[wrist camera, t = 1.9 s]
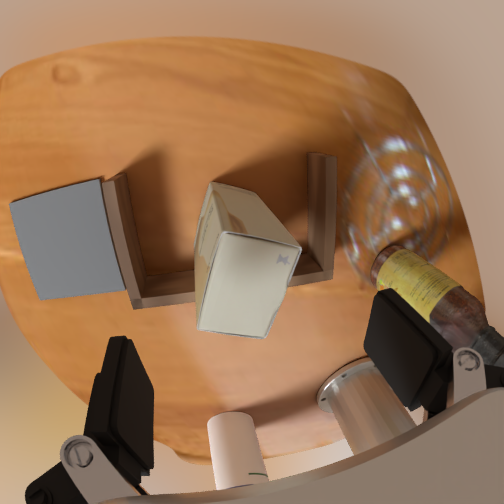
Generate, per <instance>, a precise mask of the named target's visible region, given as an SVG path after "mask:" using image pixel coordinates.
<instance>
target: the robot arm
mask: <svg viewBox="0 0 504 504" xmlns="http://www.w3.org/2000/svg"><path fill="white" fill-rule="evenodd" d="M452 349H453V347H452V346H451V345H450V344H449V343H448V342H447V341H446V340H445V339H444V338H443V336H442V335H441V334H440V333H439V332H438V331H437V330H436V329H435V328H434V327H433V326H432V325H431V324H430V323H429V322H427V321H426V320H425V319H424V318H423V317H422V316H421V315H420V314H419V313H418V312H417V311H416V310H415V309H414V308H413V307H412V306H411V305H410V304H409V303H408V302H407V301H406V300H405V299H404V298H402V297H401V296H400V295H399V294H398V293H397V292H396V291H395V290H394V289H392V288H387V289H384V290H380V291H378V292H377V295H375V296H374V300H373V305H372V309H371V314H370V319H369V323H368V327H367V332H366V336H365V340H364V350H365V352H366V353H367V354H368V356H369V357H368V358H363V359H360V360H357V361H354V362H352V363H350V364H348V365H346V366H344V367H343V368H341V369H340V370H338V371H337V372H335V373H334V374H333V375H332V376H330V377H329V378H328V379H327V380H326V381H325V382H324V384H323V385H322V386H321V388H320V390H319V392H318V394H317V403H318V405H319V407H320V409H321V410H323V411H325V412H328V413H334V415H335V417H336V419H337V421H338V423H339V425H340V428H341V430H342V432H343V434H344V436H345V438H346V440H347V442H348V444H349V446H350V448H351V450H352V452H353V454H354V456H352V457H349V458H346V459H344V460H341V461H338V462H335V463H333V464H330V465H327V466H324V467H321V468H317V469H314V470H311V471H308V472H304V473H301V474H297V475H293V476H289V477H286V478H281V479H277V480H273V481H268V482H264V483H259V484H254V485H248V486H242V487H236V488H229V489H222V490H213V491H205V492H195V493H181V494H159V495H150V494H149V493H148V492H147V491H146V490H145V489H144V488H143V487H142V486H141V485H140V483H141V476H149V475H150V469H153V468H154V450H153V417H154V389H153V386H152V383H151V381H150V379H149V377H148V375H147V373H146V371H145V369H144V366H143V364H142V362H141V360H140V357H139V355H138V353H137V351H136V348H135V346H134V343H133V341H132V340H131V339H127V337H126V336H115V337H110V339H109V342H108V346H107V350H106V353H105V357H104V361H103V366H102V370H101V373H97V374H96V376H95V379H94V383H93V388H92V392H91V397H90V402H89V407H88V412H87V417H86V423H85V428H84V434H83V435H76V436H73V437H70V438H68V439H67V440H66V441H65V442H64V444H63V445H62V447H61V450H60V459H61V462H59V463H58V464H57V465H55V466H54V467H52V468H51V469H50V470H49V471H47V472H46V473H44V474H43V475H42V476H40V477H39V478H38V479H36V480H35V481H33V482H32V483H31V484H30V485H29V486H28V487H27V489H26V492H25V500H26V503H27V504H504V368H503V367H498V366H492V365H487V364H484V362H483V359H482V357H481V355H480V354H479V353H478V352H477V351H475V350H473V349H471V348H465V347H463V348H459V349H458V350H456V351H455V353H453V352H452ZM400 401H401V402H400ZM421 405H422V406H423V407H424V416H423V423H422V424H420V425H418V426H417V425H416V424H415V422H414V421H413V419H412V418H411V416H410V415H409V413H408V412H407V410H406V409H405V407H408V409H409V410H410V411H413V410H415V409H417V408H419V407H420V406H421ZM404 406H405V407H404Z"/></svg>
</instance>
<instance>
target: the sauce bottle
mask: <svg viewBox="0 0 504 504" xmlns="http://www.w3.org/2000/svg"><path fill="white" fill-rule="evenodd" d="M371 280H372V283H373V285H374V286H375V287H376V288H377V289H378V291H380V290H384V289H387V288H392V289H394V290H395V291H396V292H397V293H398V294H399V295H400V296H401V297H402V298H404V299H405V300H406V301H407V302H408V303H409V304H410V305H411V306H412V307H413V308H414V309H415V310H416V311H417V312H418V313H419V314H420V315H421V316H422V317H423V318H424V319H425V320H426V321H427V322H429V323H430V324H431V325H432V326H433V327H434V328H435V329H436V330H437V331H438V332H439V333H440V334H441V335H442V336H443V338H444V339H445V340H446V341H447V342H448V343H449V344H450V345H451V346H452V347H453V349H452V352H453V353H455V351H456V350H458V349H459V348H463V347H465V348H471V349H473V350H475V351H477V352H478V353H479V354H480V355H481V357H482V359H483V362H484V364H487V365H492V366H498V367H503V368H504V337H502V336H501V335H500V334H499V333H498V332H497V331H495V328H494V327H492V326H489V324H488V322H487V318H486V315H485V311H484V308H483V306H482V304H481V303H480V301H479V300H478V299H477V298H476V297H474V296H473V295H471V294H470V293H469V292H467V291H466V290H464V288H463V287H462V286H461V285H460V284H459V283H457V282H456V281H454V280H453V279H452V278H450V277H449V276H447V275H446V274H445V273H443V272H442V271H440V270H439V269H437V268H436V267H434V266H433V265H432V264H430V263H429V262H427V261H426V260H424V259H423V258H421V257H420V256H418V255H416V254H415V253H414V252H412V251H410V250H408V249H405V248H404V247H403V246H399V245H394V246H391V247H388V248H386V249H384V250H383V251H382V252H381V253H380V254H379V255H378V257H377V258H376V260H375V262H374V263H373V266H372V268H371Z"/></svg>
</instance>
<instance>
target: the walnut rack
mask: <svg viewBox="0 0 504 504" xmlns="http://www.w3.org/2000/svg"><path fill="white" fill-rule="evenodd" d="M307 180H308V253H307V254H300V256H299V259H298V262H297V264H296V267H295V269H294V272H293V275H292V277H291V280H290V282H289V285H288V287H293V286H298V285H304V284H309V283H315V282H320V281H326V280H331V279H333V269H334V254H335V235H336V207H337V157H336V156H332V155H327V154H322V153H317V152H313V153H307ZM102 188H103V193H104V199H105V204H106V209H107V214H108V218H109V223H110V227H111V232H112V236H113V240H114V244H115V248H116V252H117V256H118V260H119V264H120V267H121V271H122V274H123V278H124V281H125V284H126V288H127V291H128V294H129V297H130V301H131V304H132V307H133V310H134V309H142V308H151V307H159V306H167V305H175V304H183V303H190V302H196V300H195V270H189V271H182V272H175V273H168V274H161V275H153V276H147V274H146V270H145V266H144V262H143V258H142V254H141V249H140V245H139V240H138V236H137V231H136V226H135V221H134V216H133V211H132V205H131V200H130V194H129V188H128V182H127V175H126V173H124V174H119V175H115V176H113V177H111V178H110V179H108V180H106V181H104V182H103V183H102Z"/></svg>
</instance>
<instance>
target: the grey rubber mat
mask: <svg viewBox="0 0 504 504" xmlns="http://www.w3.org/2000/svg"><path fill="white" fill-rule="evenodd" d="M9 206H10V211H11V215H12V219H13V223H14V227H15V230H16V234H17V237H18V241H19V244H20V247H21V250H22V254H23V257H24V260H25V262H26V265H27V268H28V271H29V274H30V276H31V279H32V282H33V284H34V287H35V289H36V292H37V294H38V297H39V299H40V300H46V299H56V298H65V297H74V296H82V295H91V294H99V293H108V292H116V291H124V290H126V286H125V283H124V280H123V276H122V273H121V269H120V266H119V262H118V258H117V254H116V251H115V247H114V243H113V239H112V234H111V230H110V226H109V221H108V217H107V212H106V207H105V202H104V197H103V191H102V186H101V180H100V179H95V180H91V181H87V182H83V183H78V184H74V185H70V186H67V187H63V188H59V189H55V190H52V191H48V192H45V193H41V194H38V195H34V196H31V197H28V198H25V199H21V200H18V201H15V202H12V203H10V204H9Z"/></svg>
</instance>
